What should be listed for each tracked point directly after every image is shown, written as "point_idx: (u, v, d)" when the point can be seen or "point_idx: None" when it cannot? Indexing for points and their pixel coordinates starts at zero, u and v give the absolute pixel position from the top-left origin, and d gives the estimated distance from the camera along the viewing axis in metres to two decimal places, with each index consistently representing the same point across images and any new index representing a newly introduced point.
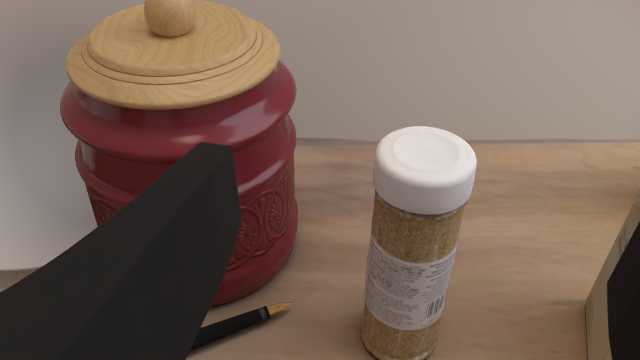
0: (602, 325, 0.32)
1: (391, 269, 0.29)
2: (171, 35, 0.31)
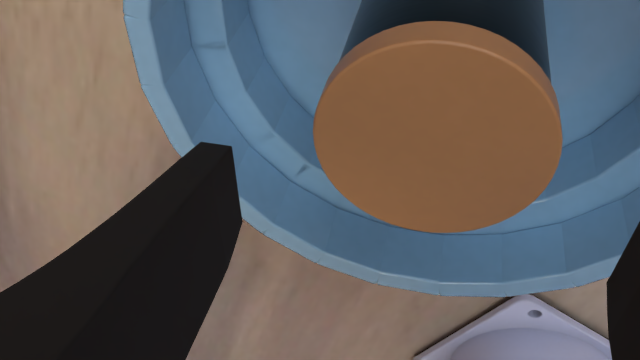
0: None
1: None
2: None
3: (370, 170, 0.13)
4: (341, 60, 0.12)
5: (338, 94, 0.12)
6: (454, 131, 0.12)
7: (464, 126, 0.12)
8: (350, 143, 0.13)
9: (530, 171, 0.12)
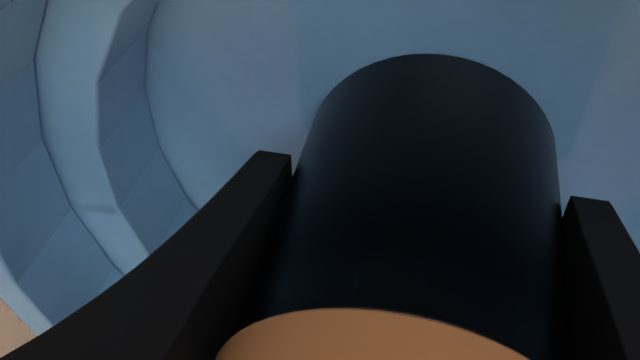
0: None
1: None
2: None
3: None
4: (232, 340, 0.07)
5: None
6: None
7: None
8: None
9: None
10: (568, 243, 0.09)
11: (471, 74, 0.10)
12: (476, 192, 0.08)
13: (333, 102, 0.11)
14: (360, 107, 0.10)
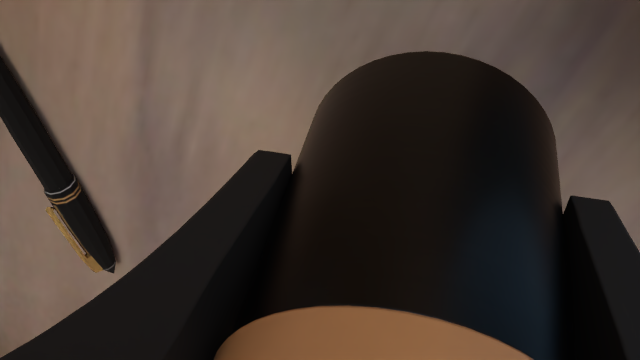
0: None
1: None
2: None
3: None
4: (232, 339, 0.07)
5: None
6: None
7: None
8: None
9: None
10: (568, 243, 0.09)
11: (471, 72, 0.10)
12: (477, 190, 0.08)
13: (333, 100, 0.11)
14: (360, 105, 0.10)
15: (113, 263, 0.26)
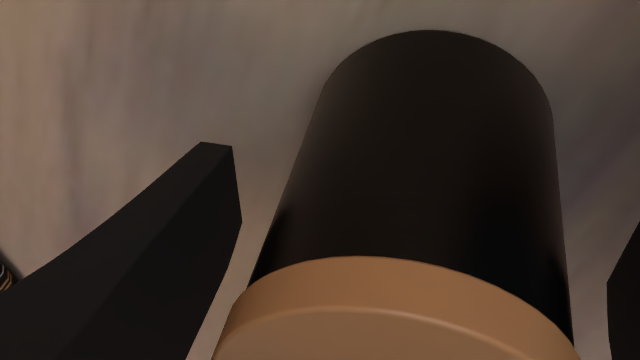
0: None
1: None
2: None
3: None
4: (247, 291, 0.08)
5: (240, 351, 0.08)
6: None
7: None
8: None
9: None
10: None
11: (472, 49, 0.10)
12: (477, 155, 0.08)
13: (339, 77, 0.11)
14: (365, 80, 0.10)
15: None
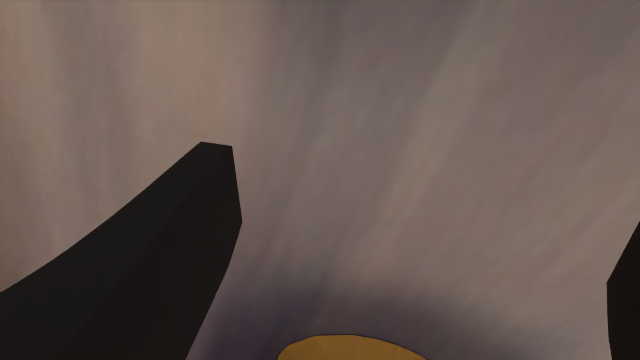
0: None
1: None
2: None
3: None
4: None
5: None
6: None
7: None
8: None
9: None
10: None
11: None
12: None
13: None
14: None
15: None
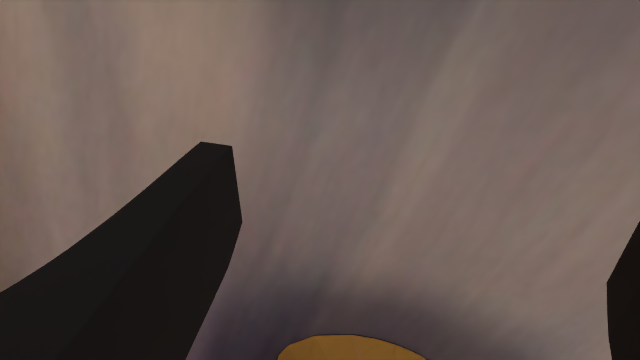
0: None
1: None
2: None
3: None
4: None
5: None
6: None
7: None
8: None
9: None
10: None
11: None
12: None
13: None
14: None
15: None
